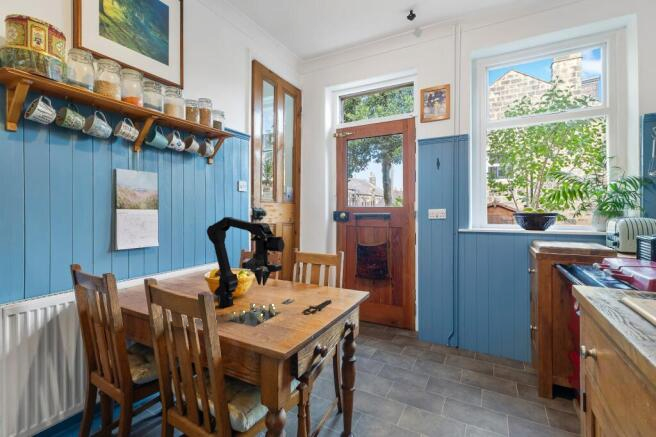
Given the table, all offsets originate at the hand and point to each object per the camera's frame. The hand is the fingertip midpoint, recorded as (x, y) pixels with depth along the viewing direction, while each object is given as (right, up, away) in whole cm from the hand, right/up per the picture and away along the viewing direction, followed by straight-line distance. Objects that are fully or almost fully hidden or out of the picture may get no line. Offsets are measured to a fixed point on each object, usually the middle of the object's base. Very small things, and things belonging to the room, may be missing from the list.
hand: (261, 285), depth 138 cm
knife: (+26, -13, +6) cm, 29 cm away
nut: (-1, -12, -8) cm, 14 cm away
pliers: (+7, -12, +9) cm, 17 cm away
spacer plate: (-1, -12, -8) cm, 15 cm away
